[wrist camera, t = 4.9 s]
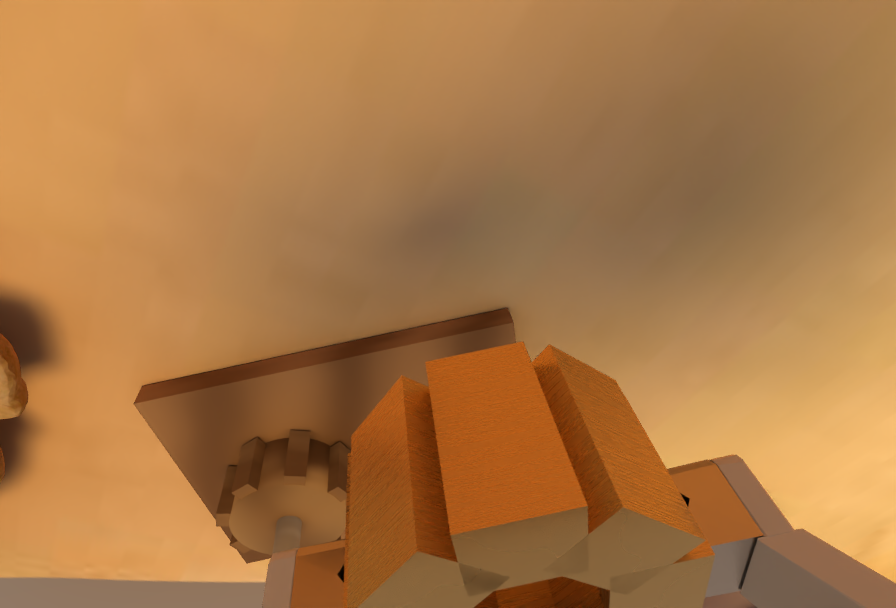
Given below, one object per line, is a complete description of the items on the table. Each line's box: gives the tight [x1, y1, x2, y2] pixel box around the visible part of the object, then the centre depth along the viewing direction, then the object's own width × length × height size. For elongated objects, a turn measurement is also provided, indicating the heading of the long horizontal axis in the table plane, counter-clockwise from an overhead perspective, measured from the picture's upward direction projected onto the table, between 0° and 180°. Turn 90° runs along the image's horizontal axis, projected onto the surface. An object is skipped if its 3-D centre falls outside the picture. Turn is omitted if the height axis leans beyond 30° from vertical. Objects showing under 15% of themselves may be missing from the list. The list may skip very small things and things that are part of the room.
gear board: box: [134, 308, 516, 563], centre depth 27 cm, size 18×14×6 cm
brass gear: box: [343, 342, 715, 608], centre depth 10 cm, size 6×6×4 cm
